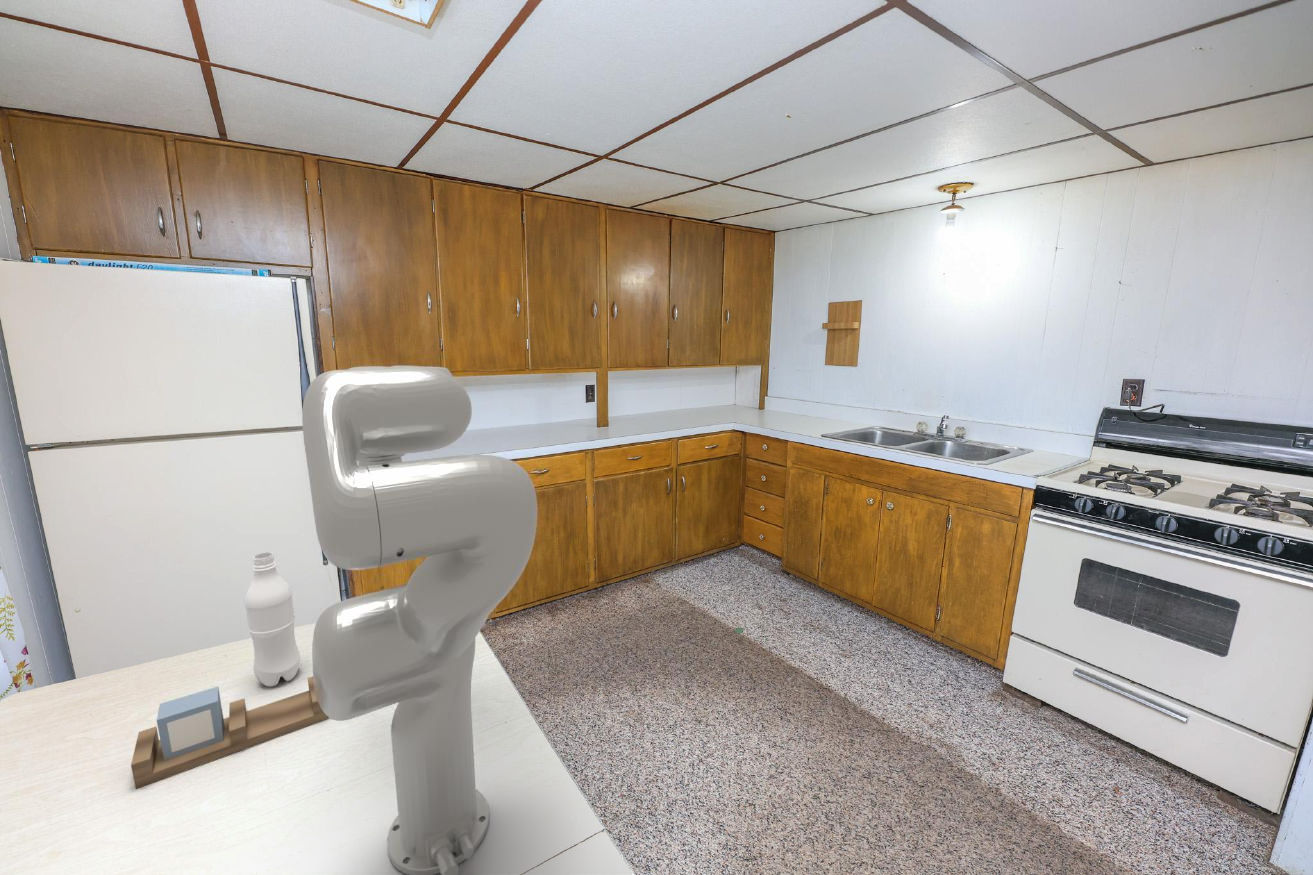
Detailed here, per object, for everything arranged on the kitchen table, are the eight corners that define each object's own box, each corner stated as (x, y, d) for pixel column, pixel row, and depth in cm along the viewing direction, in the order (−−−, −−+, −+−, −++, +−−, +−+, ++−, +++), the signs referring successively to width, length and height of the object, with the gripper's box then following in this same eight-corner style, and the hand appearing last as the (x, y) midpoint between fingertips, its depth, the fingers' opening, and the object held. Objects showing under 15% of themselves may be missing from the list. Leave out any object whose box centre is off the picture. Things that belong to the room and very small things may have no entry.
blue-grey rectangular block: (223, 740, 84) (217, 701, 83) (164, 761, 80) (156, 720, 78) (224, 723, 87) (218, 686, 86) (167, 743, 83) (159, 703, 82)
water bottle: (248, 682, 100) (229, 558, 95) (288, 662, 106) (273, 544, 101) (269, 694, 97) (251, 567, 92) (309, 673, 103) (295, 552, 98)
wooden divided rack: (328, 718, 91) (326, 697, 90) (135, 788, 77) (130, 765, 76) (322, 693, 97) (320, 673, 97) (143, 754, 83) (138, 731, 82)
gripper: (420, 453, 78) (428, 562, 81) (389, 436, 91) (397, 531, 94) (363, 460, 73) (374, 576, 76) (339, 441, 86) (349, 541, 89)
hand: (387, 551), depth 85 cm, fingers open, 9 cm apart
